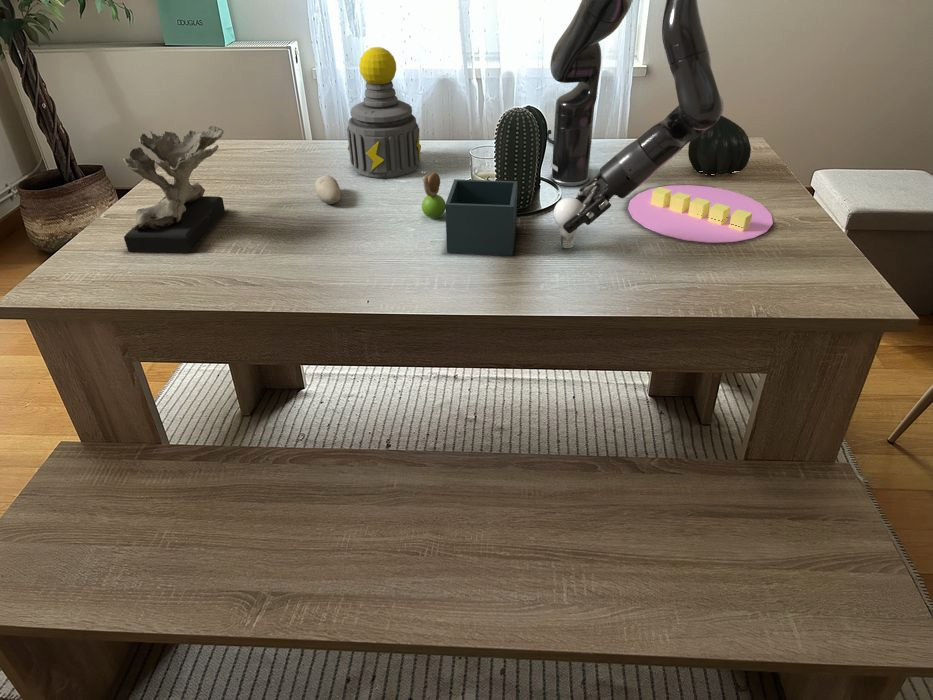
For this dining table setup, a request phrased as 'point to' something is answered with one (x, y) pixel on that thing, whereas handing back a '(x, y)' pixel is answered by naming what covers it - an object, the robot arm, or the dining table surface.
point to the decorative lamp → (382, 123)
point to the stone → (328, 189)
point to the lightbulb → (566, 218)
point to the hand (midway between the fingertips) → (566, 220)
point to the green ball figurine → (432, 196)
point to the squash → (720, 149)
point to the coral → (174, 193)
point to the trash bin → (481, 217)
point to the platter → (700, 213)
